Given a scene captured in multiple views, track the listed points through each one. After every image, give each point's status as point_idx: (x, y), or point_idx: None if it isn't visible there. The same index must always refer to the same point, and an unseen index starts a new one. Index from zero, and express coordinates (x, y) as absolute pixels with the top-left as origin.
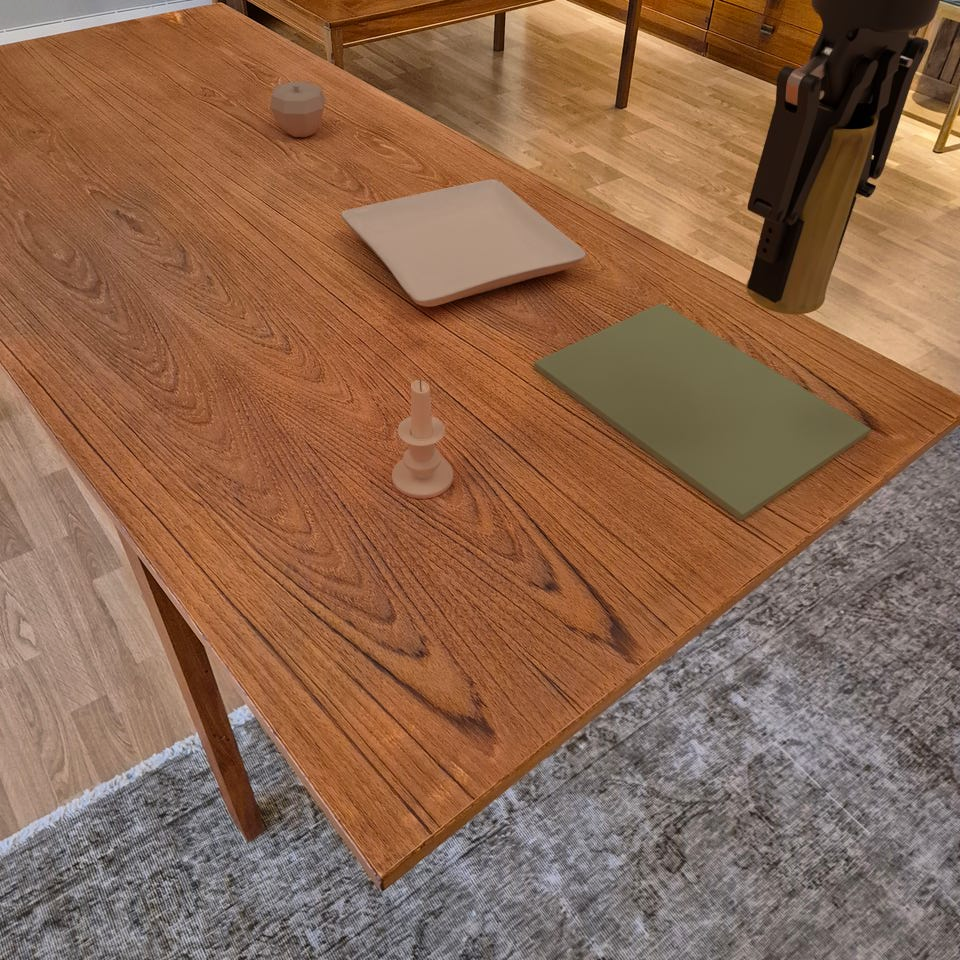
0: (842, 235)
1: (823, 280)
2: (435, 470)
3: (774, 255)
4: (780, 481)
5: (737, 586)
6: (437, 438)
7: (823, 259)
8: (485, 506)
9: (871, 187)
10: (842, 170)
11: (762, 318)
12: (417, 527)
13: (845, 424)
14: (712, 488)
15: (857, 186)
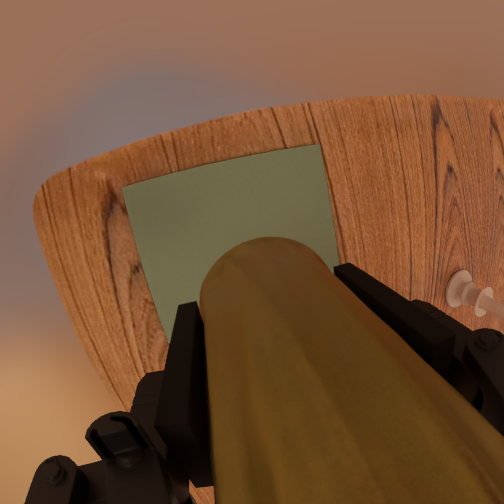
0: (176, 350)
1: (271, 257)
2: (456, 288)
3: (425, 307)
4: (260, 160)
5: (358, 97)
6: (483, 291)
7: (304, 277)
8: (447, 249)
9: (104, 438)
10: (496, 469)
11: (115, 370)
12: (475, 250)
13: (140, 202)
14: (323, 182)
15: (158, 459)
